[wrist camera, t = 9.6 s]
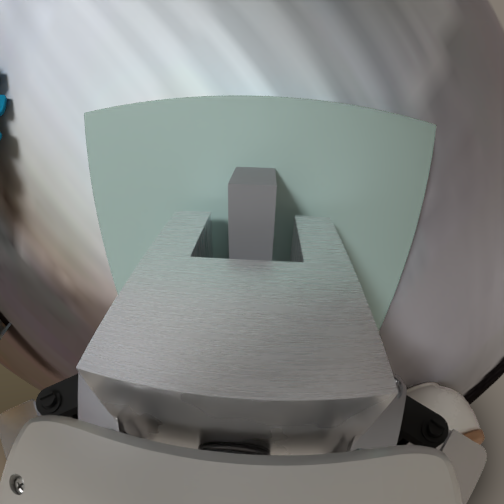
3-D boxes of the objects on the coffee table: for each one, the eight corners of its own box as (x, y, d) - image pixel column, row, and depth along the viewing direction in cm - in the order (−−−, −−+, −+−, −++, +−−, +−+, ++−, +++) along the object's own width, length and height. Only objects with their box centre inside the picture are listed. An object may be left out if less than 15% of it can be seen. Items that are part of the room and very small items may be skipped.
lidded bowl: (361, 387, 22) (379, 497, 12) (473, 350, 19) (511, 438, 10) (356, 432, 28) (364, 507, 18) (443, 406, 25) (462, 473, 16)
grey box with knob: (176, 210, 11) (70, 378, 4) (330, 217, 11) (401, 405, 4) (192, 328, 15) (155, 469, 8) (307, 335, 15) (319, 481, 8)
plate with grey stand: (100, 110, 11) (-15, 140, 5) (421, 121, 11) (533, 159, 4) (151, 354, 20) (123, 434, 14) (350, 366, 20) (366, 449, 13)
